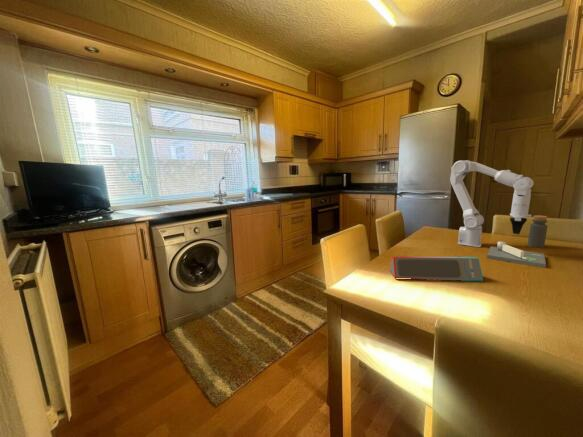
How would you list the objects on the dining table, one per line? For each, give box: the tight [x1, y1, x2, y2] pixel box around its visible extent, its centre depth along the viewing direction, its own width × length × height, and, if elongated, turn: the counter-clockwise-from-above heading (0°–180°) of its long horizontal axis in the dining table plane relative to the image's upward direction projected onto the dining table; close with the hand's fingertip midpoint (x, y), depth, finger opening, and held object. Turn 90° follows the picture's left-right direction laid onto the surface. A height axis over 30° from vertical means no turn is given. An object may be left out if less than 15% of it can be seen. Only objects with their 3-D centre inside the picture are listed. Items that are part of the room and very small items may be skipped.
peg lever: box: [496, 240, 527, 259], centre depth 106 cm, size 15×3×3 cm, turn 176°
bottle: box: [527, 214, 548, 249], centre depth 118 cm, size 6×6×15 cm
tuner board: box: [486, 246, 547, 269], centre depth 106 cm, size 18×15×2 cm
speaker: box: [389, 255, 484, 282], centre depth 92 cm, size 9×10×30 cm
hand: (516, 233), depth 111 cm, fingers closed
